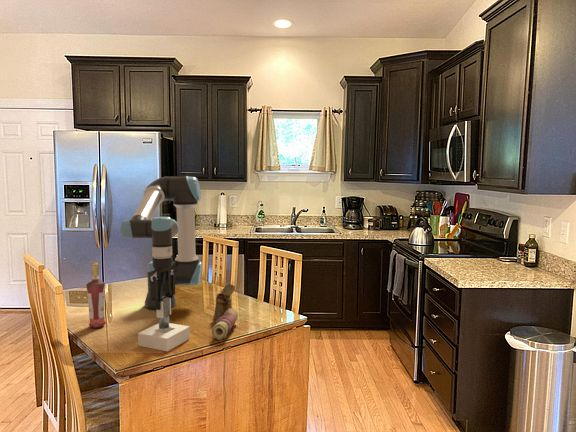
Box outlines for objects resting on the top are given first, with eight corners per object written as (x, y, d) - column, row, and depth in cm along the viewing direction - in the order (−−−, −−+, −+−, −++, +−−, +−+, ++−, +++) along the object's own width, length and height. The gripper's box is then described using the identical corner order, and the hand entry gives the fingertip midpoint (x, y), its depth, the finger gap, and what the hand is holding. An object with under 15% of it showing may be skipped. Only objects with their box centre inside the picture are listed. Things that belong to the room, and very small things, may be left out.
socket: (138, 345, 168) (137, 333, 167) (162, 333, 181) (162, 321, 180) (167, 351, 162) (167, 338, 162) (190, 338, 175) (189, 326, 175)
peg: (156, 327, 170) (155, 298, 169) (163, 324, 173) (162, 295, 172) (164, 329, 168) (164, 299, 167) (171, 326, 172) (170, 296, 171)
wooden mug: (221, 326, 189) (220, 285, 188) (210, 317, 201) (210, 279, 199) (240, 322, 194) (239, 283, 192) (228, 314, 206) (228, 276, 204)
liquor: (105, 328, 186) (103, 264, 183) (87, 330, 184) (84, 265, 181) (107, 322, 193) (105, 260, 190) (89, 324, 191) (86, 261, 188)
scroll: (220, 319, 194) (205, 336, 174) (227, 304, 193) (212, 320, 173) (235, 327, 193) (221, 344, 173) (242, 312, 192) (229, 328, 172)
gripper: (155, 261, 159) (157, 323, 161) (184, 253, 174) (185, 310, 177) (139, 260, 162) (141, 320, 164) (169, 252, 177) (170, 308, 180)
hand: (164, 315), depth 170 cm, fingers closed on peg, 4 cm apart
